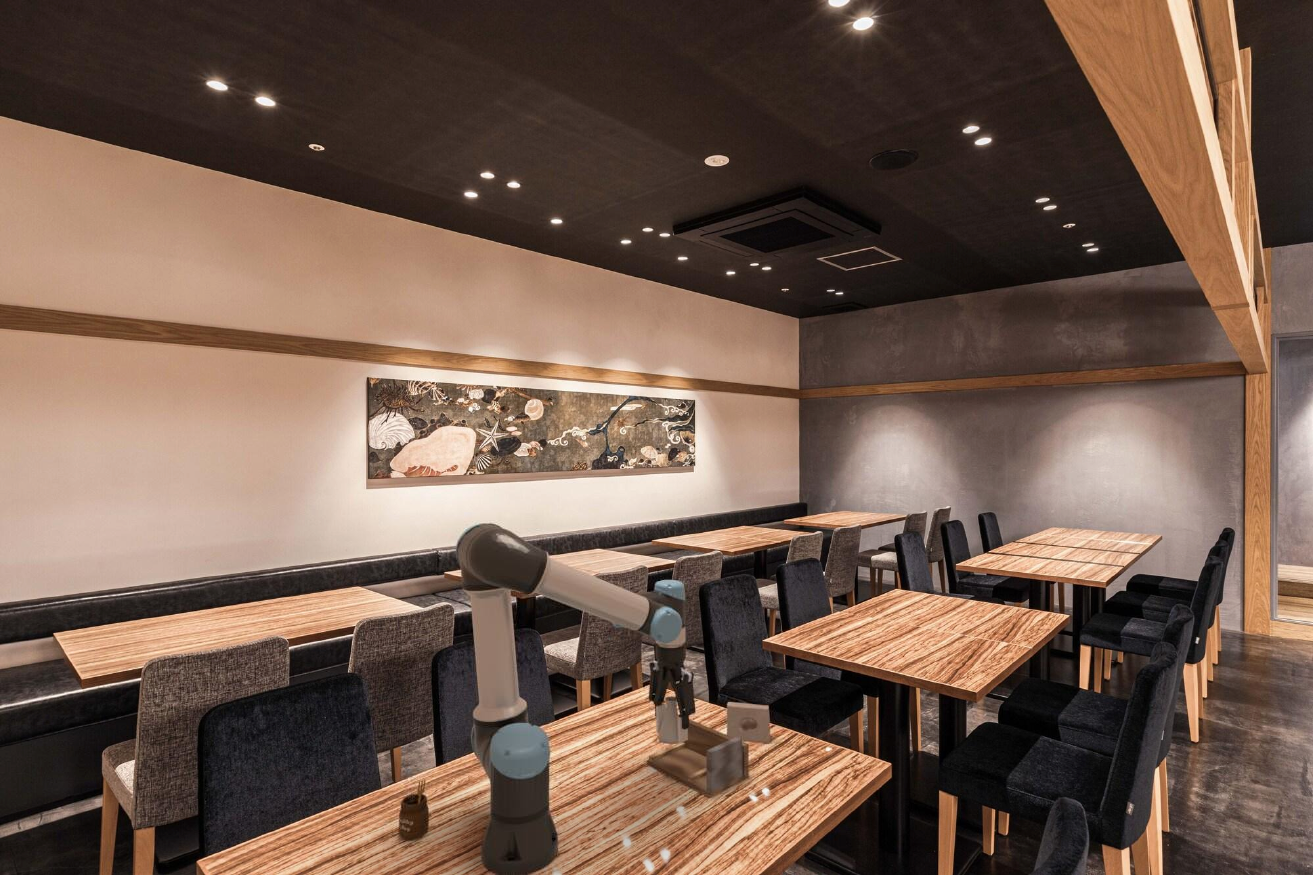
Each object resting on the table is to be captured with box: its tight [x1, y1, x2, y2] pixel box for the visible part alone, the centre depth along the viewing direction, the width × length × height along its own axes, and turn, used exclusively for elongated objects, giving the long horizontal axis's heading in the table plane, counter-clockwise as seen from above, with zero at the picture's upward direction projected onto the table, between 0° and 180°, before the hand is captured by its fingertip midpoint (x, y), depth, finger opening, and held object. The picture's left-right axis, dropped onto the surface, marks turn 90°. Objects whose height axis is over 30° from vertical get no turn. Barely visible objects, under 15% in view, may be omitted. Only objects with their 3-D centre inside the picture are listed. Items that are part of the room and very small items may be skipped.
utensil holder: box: [398, 776, 430, 841], centre depth 138 cm, size 6×6×12 cm
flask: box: [657, 695, 683, 745], centre depth 163 cm, size 7×7×10 cm
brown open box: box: [646, 718, 750, 799], centre depth 164 cm, size 14×22×10 cm, turn 42°
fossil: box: [726, 701, 772, 744], centre depth 183 cm, size 12×4×10 cm, turn 78°
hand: (671, 735), depth 163 cm, fingers closed on flask, 7 cm apart
